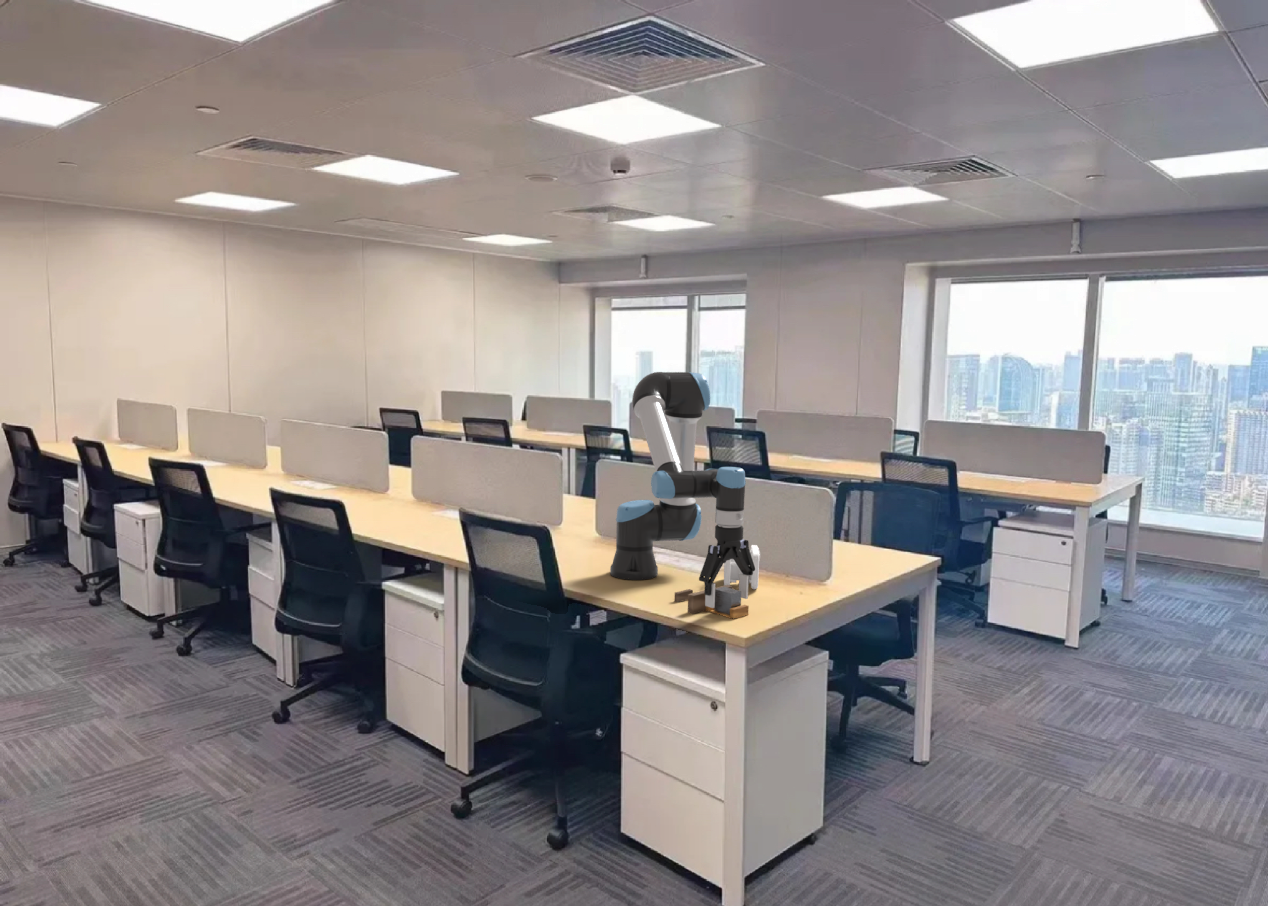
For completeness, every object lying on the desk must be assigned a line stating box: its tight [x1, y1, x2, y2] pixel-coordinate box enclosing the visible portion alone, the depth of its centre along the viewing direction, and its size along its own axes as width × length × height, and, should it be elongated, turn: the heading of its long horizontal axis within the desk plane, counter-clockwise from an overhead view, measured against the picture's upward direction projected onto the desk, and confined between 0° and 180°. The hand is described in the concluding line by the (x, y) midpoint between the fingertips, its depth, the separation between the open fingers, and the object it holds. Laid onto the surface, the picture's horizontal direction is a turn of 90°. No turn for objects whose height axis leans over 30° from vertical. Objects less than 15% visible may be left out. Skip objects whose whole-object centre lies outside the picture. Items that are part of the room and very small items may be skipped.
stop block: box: [714, 587, 742, 615], centre depth 230 cm, size 6×4×6 cm, turn 42°
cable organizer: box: [723, 544, 761, 590], centre depth 260 cm, size 15×11×12 cm
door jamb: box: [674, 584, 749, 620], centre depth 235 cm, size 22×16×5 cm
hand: (726, 602), depth 231 cm, fingers open, 13 cm apart
